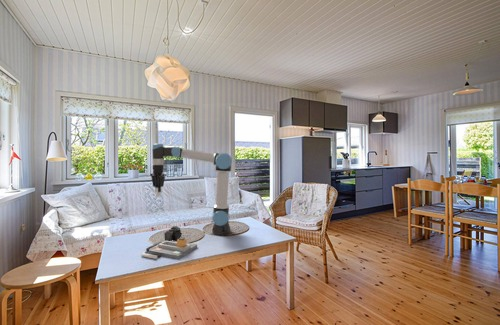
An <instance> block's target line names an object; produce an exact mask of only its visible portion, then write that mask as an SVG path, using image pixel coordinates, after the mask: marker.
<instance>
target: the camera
mask: <svg viewBox="0 0 500 325" xmlns="http://www.w3.org/2000/svg"><path fill="white" fill-rule="evenodd" d="M182 235H183V234H182V230H181V227H179V226H177V225H173V226H172V227H170V228H169V229H168V230H166V231H165V232H164V241H171V240H173V241H177V240H178V239H179V238H181V237H182Z"/></svg>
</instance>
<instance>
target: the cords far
mask: <svg viewBox="0 0 500 325" xmlns="http://www.w3.org/2000/svg"><path fill="white" fill-rule="evenodd" d="M140 256H141V257H142V258H149V259H154V260H157V259H158V258H160V257H162V256H161V255H160V254H157V253H152V252H150V251H145V252H142V253H141V255H140Z"/></svg>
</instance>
